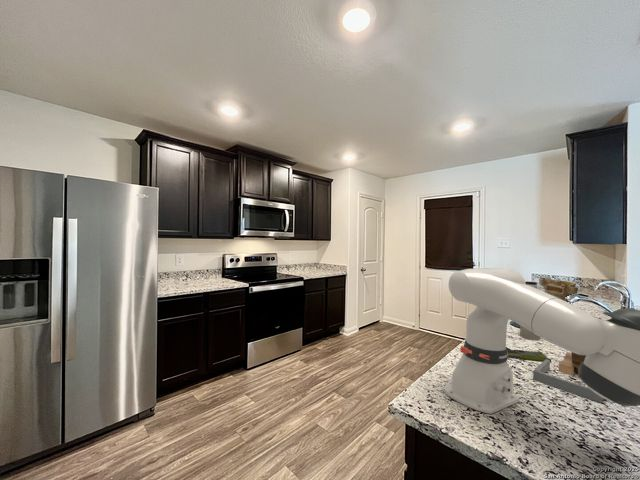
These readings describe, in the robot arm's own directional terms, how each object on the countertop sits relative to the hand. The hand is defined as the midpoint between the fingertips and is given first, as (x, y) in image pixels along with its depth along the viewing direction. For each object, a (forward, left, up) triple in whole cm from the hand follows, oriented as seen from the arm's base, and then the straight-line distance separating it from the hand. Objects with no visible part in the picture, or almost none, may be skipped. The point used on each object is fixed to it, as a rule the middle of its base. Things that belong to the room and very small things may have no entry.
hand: (578, 347), depth 98 cm
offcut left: (-4, +2, -9) cm, 10 cm away
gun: (+1, +19, -10) cm, 22 cm away
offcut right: (-4, -3, -9) cm, 10 cm away
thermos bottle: (+29, +22, -9) cm, 37 cm away
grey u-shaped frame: (-13, 0, -9) cm, 16 cm away
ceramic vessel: (+140, +31, -9) cm, 144 cm away
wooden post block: (+3, -1, -8) cm, 8 cm away
